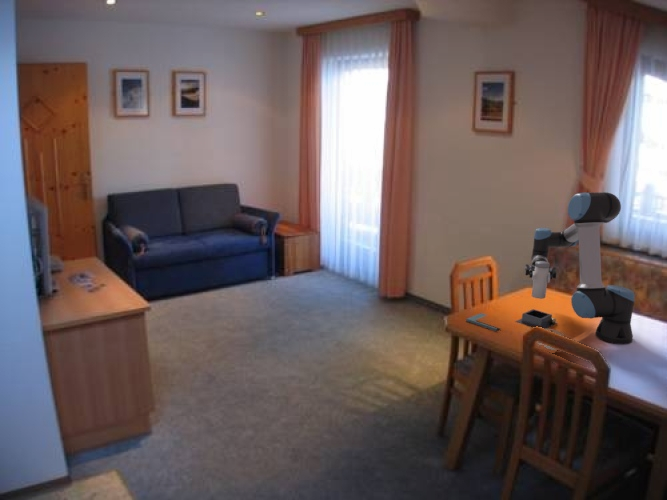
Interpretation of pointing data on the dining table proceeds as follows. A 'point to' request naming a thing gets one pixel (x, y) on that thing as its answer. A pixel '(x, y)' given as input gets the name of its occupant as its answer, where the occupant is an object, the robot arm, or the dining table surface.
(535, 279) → the cylinder
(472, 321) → the mat
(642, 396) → the dining table surface
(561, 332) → the lidded jar
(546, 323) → the housing
